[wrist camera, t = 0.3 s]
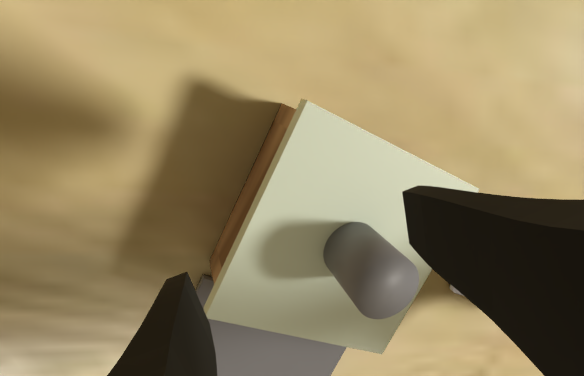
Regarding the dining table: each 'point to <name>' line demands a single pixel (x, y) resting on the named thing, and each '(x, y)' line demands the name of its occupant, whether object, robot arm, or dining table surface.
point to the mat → (266, 349)
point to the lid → (328, 238)
